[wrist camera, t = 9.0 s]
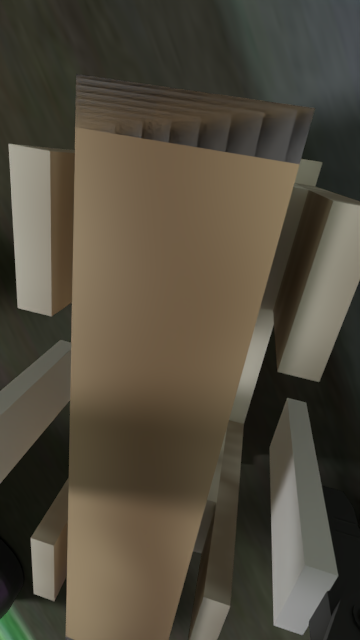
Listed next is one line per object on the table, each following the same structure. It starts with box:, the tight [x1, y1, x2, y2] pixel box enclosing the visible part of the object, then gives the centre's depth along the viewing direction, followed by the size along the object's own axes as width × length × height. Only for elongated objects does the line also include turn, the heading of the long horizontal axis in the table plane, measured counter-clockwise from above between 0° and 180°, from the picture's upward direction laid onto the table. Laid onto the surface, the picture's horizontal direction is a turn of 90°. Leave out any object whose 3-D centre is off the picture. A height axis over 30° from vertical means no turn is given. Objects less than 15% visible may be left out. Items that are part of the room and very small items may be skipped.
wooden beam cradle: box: [9, 144, 360, 640], centre depth 16 cm, size 8×20×12 cm, turn 171°
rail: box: [66, 74, 315, 640], centre depth 12 cm, size 4×20×5 cm, turn 171°
